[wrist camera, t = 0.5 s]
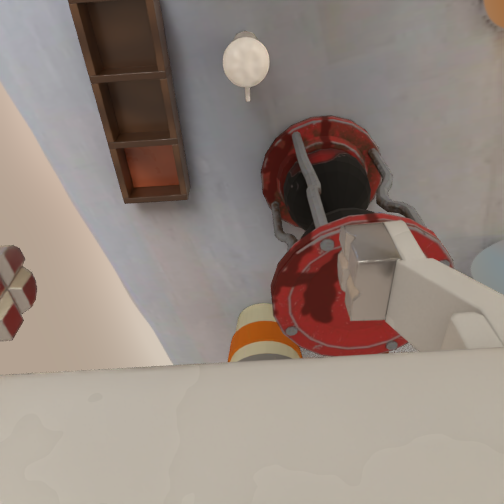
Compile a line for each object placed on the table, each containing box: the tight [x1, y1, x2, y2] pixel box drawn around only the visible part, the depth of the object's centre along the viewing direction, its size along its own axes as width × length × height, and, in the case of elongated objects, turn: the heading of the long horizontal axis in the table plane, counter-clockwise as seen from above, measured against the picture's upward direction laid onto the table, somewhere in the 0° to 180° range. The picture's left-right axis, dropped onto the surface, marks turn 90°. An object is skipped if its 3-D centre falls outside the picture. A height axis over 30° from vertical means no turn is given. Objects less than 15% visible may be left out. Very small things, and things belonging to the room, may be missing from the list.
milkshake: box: [223, 31, 269, 101], centre depth 43 cm, size 4×5×10 cm
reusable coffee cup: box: [228, 303, 303, 362], centre depth 68 cm, size 13×13×15 cm
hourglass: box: [261, 115, 454, 357], centre depth 47 cm, size 16×16×25 cm
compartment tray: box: [68, 0, 190, 204], centre depth 49 cm, size 24×8×4 cm, turn 3°
